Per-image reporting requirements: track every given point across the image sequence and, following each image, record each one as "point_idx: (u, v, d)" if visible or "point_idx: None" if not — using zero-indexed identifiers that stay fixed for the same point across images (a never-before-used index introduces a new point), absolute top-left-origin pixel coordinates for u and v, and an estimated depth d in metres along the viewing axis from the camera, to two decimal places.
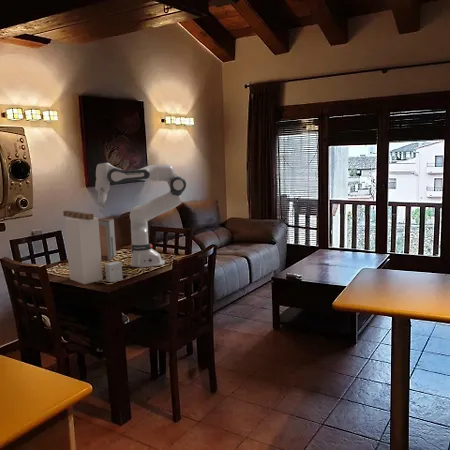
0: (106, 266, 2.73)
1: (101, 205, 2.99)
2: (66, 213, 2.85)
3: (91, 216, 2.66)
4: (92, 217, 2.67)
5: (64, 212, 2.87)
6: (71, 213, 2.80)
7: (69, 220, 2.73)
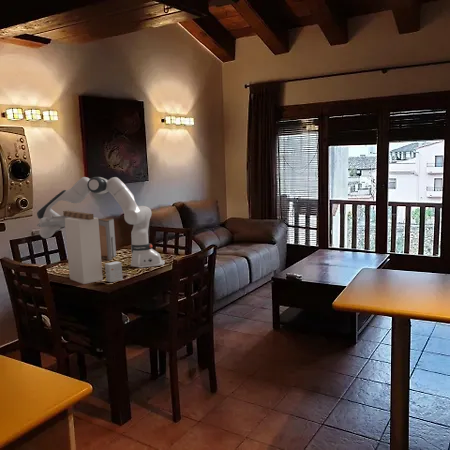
0: (106, 266, 2.73)
1: (48, 217, 2.94)
2: (66, 213, 2.85)
3: (91, 216, 2.66)
4: (92, 217, 2.67)
5: (64, 212, 2.87)
6: (71, 213, 2.80)
7: (69, 220, 2.73)
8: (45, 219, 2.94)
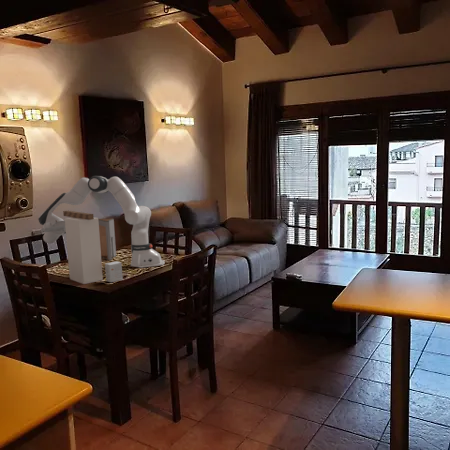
0: (106, 266, 2.73)
1: (52, 222, 2.91)
2: (66, 213, 2.85)
3: (91, 216, 2.66)
4: (92, 217, 2.67)
5: (64, 212, 2.87)
6: (71, 213, 2.80)
7: (69, 220, 2.73)
8: (49, 224, 2.91)
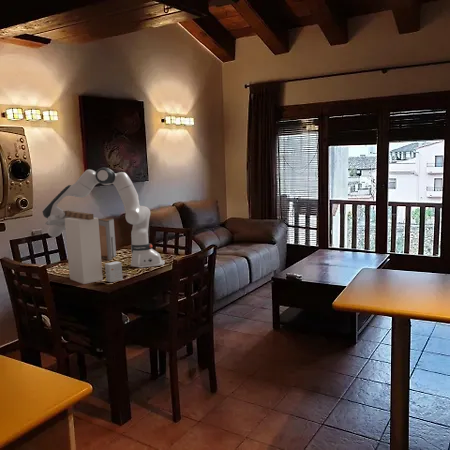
0: (106, 266, 2.73)
1: (61, 215, 2.86)
2: (66, 213, 2.85)
3: (91, 216, 2.66)
4: (92, 217, 2.67)
5: None
6: (71, 213, 2.80)
7: (69, 220, 2.73)
8: (54, 217, 2.84)
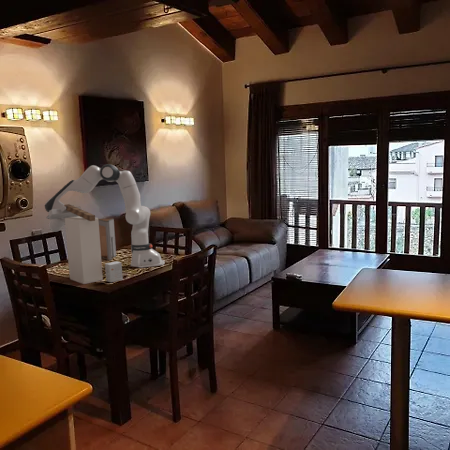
0: (106, 266, 2.73)
1: (62, 209, 2.84)
2: (67, 207, 2.83)
3: (93, 217, 2.65)
4: (94, 218, 2.66)
5: None
6: (72, 209, 2.78)
7: (69, 220, 2.73)
8: (55, 211, 2.82)
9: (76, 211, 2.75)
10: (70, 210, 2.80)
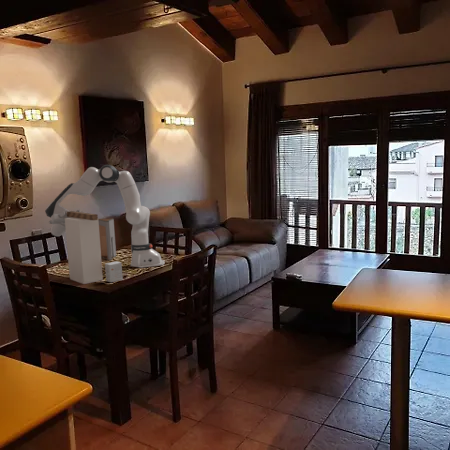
0: (106, 266, 2.73)
1: (61, 214, 2.80)
2: (69, 214, 2.81)
3: (95, 217, 2.63)
4: (96, 218, 2.63)
5: (67, 212, 2.83)
6: (75, 214, 2.77)
7: (69, 220, 2.73)
8: (57, 216, 2.81)
9: (78, 214, 2.73)
10: (72, 215, 2.79)
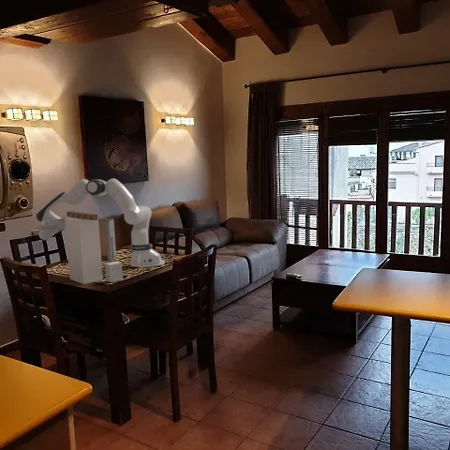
0: (106, 266, 2.73)
1: (47, 221, 2.95)
2: (69, 214, 2.81)
3: (95, 217, 2.63)
4: (96, 218, 2.63)
5: (67, 212, 2.83)
6: (75, 214, 2.77)
7: (69, 220, 2.73)
8: (44, 223, 2.95)
9: (78, 214, 2.73)
10: (72, 215, 2.79)
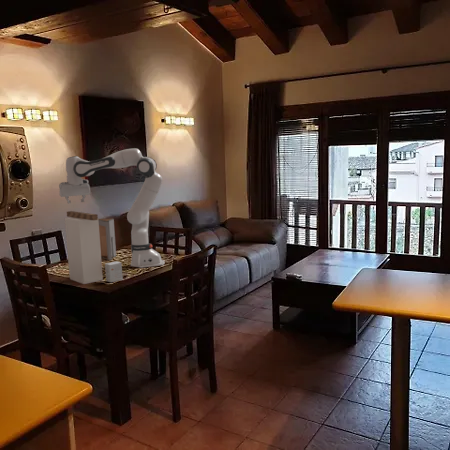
0: (106, 266, 2.73)
1: (66, 199, 3.03)
2: (69, 214, 2.81)
3: (95, 217, 2.63)
4: (96, 218, 2.63)
5: (67, 212, 2.83)
6: (75, 214, 2.77)
7: (69, 220, 2.73)
8: (64, 196, 3.02)
9: (78, 214, 2.73)
10: (72, 215, 2.79)
